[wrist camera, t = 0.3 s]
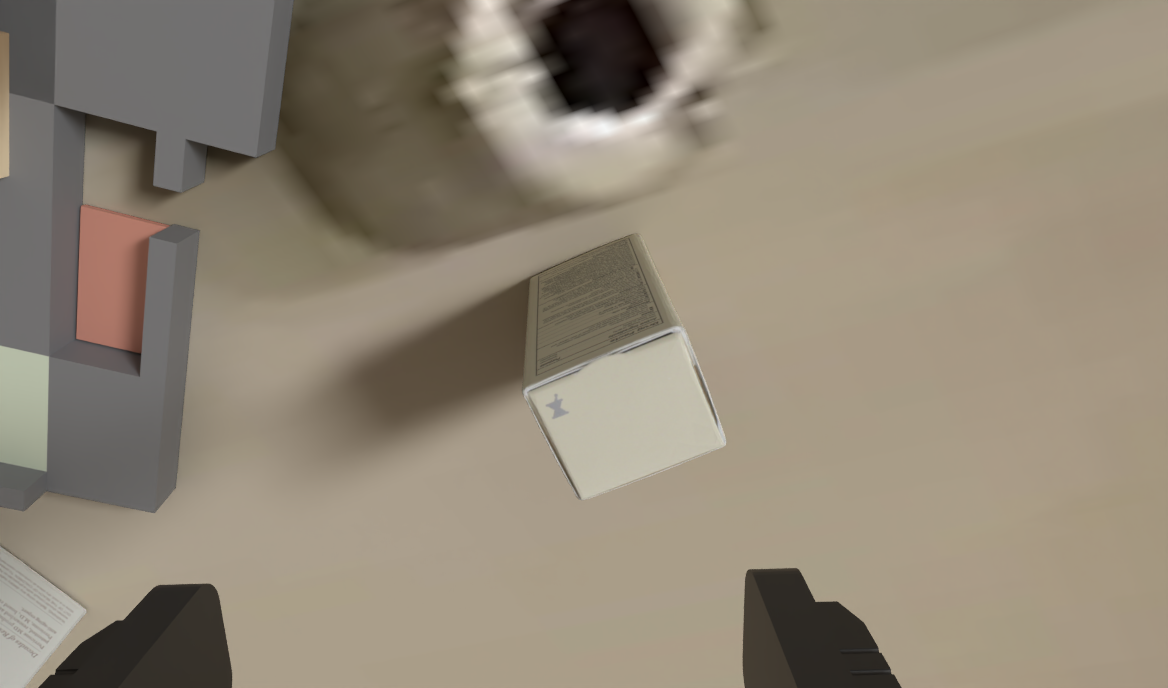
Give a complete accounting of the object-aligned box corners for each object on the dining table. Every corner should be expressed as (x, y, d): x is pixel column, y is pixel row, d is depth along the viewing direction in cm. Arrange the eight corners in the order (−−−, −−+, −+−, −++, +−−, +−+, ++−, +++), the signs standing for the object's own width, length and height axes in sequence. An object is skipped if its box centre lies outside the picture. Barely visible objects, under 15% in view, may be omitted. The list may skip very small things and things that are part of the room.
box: (567, 362, 34) (569, 509, 24) (526, 275, 32) (509, 392, 22) (680, 317, 33) (732, 449, 23) (645, 226, 32) (683, 324, 22)
